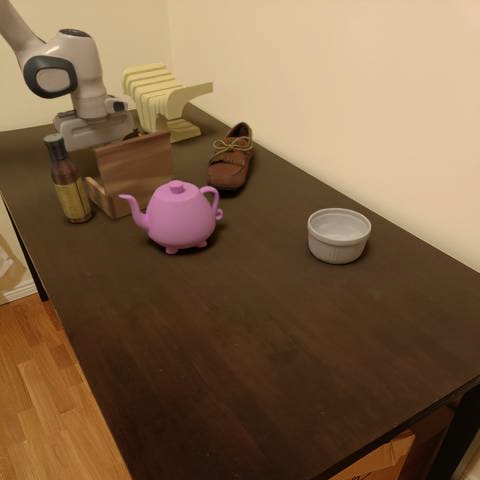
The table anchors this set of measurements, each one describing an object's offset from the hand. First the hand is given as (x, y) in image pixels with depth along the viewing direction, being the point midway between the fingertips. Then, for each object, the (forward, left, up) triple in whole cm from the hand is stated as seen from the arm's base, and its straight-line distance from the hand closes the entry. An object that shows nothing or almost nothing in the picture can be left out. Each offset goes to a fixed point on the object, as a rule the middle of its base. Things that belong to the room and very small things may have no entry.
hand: (103, 159), depth 117 cm
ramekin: (+68, -10, -5) cm, 69 cm away
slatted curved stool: (0, +35, -5) cm, 36 cm away
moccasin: (+32, +15, -5) cm, 36 cm away
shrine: (+10, -3, -5) cm, 12 cm away
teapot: (+34, -20, -5) cm, 40 cm away
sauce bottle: (+7, -21, -5) cm, 23 cm away
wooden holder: (+13, -7, -5) cm, 16 cm away
